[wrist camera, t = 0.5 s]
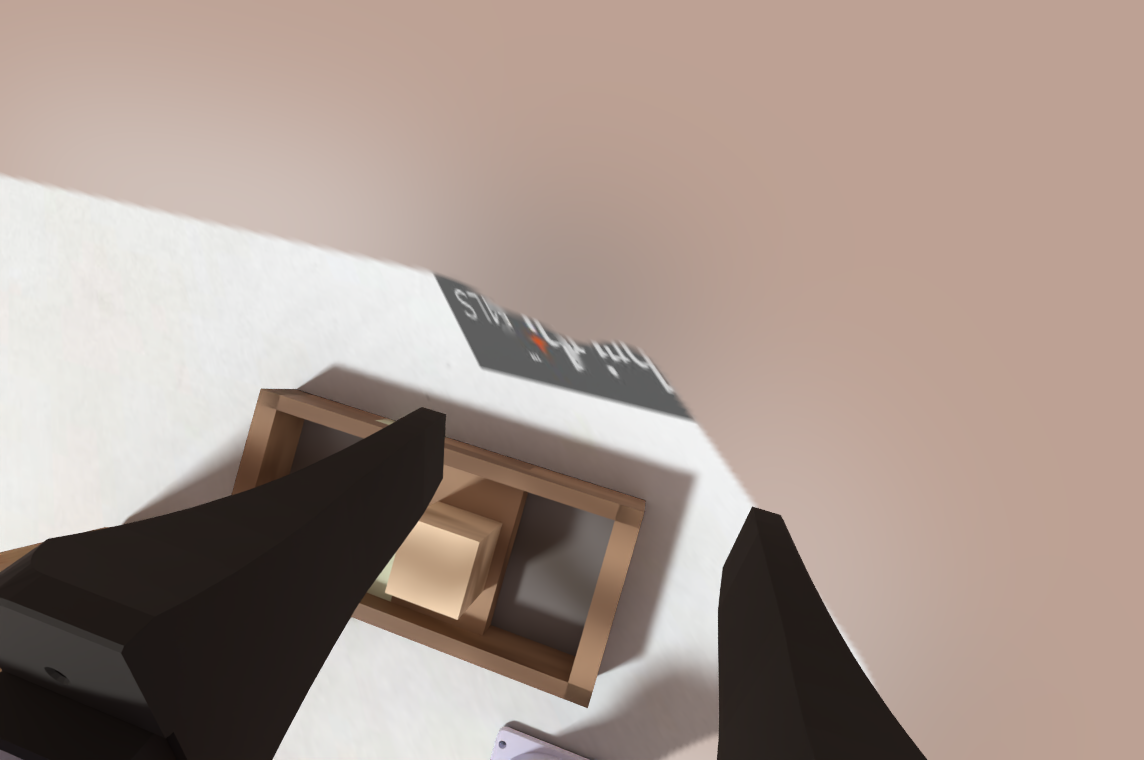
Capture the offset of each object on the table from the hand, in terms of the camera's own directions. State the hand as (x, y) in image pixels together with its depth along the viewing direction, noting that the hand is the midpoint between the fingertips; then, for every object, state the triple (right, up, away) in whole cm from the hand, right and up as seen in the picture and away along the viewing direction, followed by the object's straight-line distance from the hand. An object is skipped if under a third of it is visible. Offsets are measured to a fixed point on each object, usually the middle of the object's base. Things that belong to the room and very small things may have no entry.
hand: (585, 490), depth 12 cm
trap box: (-10, -7, +25) cm, 27 cm away
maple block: (-8, -8, +22) cm, 25 cm away
